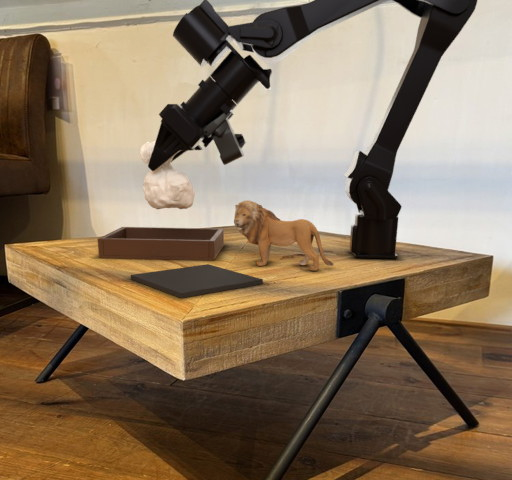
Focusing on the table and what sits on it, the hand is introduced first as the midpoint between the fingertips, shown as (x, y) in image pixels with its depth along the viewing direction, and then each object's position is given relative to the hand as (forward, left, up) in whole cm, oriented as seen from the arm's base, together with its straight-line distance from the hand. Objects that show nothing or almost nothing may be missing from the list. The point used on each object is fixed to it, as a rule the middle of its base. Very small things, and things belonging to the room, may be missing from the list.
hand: (153, 168), depth 88 cm
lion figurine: (-20, +10, -13) cm, 26 cm away
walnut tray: (-1, 0, -13) cm, 13 cm away
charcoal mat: (-9, +21, -13) cm, 27 cm away
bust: (-2, 0, -6) cm, 7 cm away
